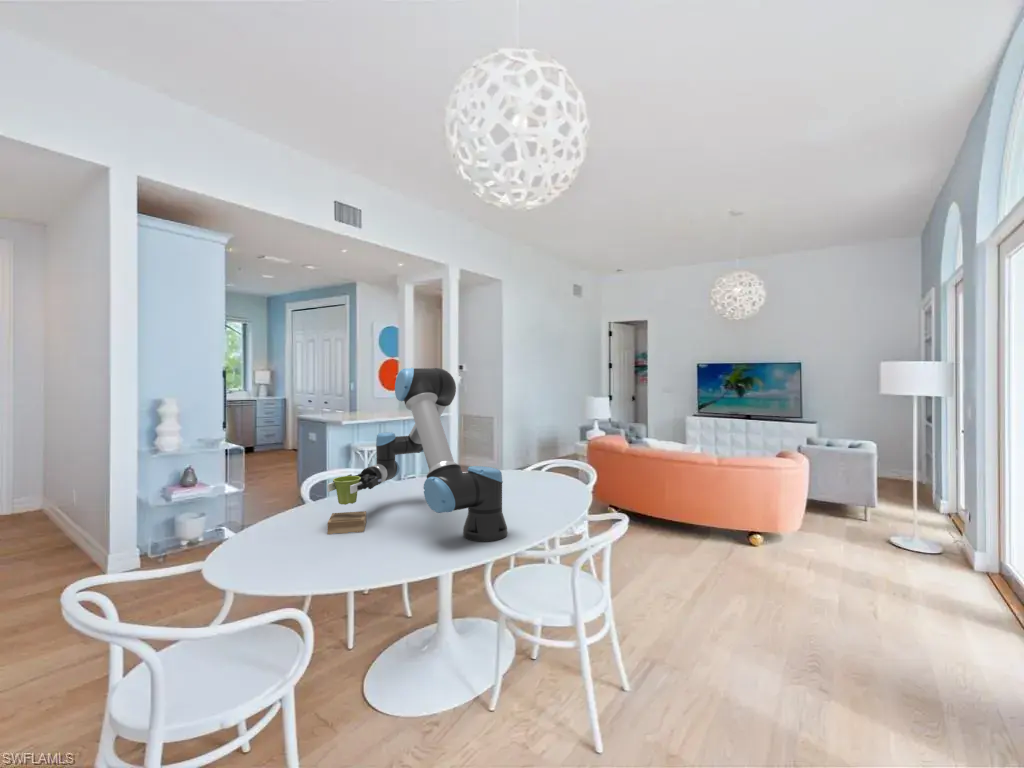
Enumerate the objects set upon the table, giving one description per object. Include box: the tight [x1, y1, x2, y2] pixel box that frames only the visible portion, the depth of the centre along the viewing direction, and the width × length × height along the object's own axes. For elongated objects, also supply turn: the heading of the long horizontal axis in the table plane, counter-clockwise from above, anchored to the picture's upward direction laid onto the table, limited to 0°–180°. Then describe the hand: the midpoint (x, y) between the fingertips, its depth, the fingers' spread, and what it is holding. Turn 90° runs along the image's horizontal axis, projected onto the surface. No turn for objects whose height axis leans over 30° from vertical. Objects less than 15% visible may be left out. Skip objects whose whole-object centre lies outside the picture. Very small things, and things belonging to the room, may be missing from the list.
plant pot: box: [332, 475, 361, 506], centre depth 180 cm, size 9×9×9 cm
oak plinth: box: [326, 510, 367, 535], centre depth 180 cm, size 12×12×4 cm
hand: (339, 488), depth 175 cm, fingers closed on plant pot, 8 cm apart
